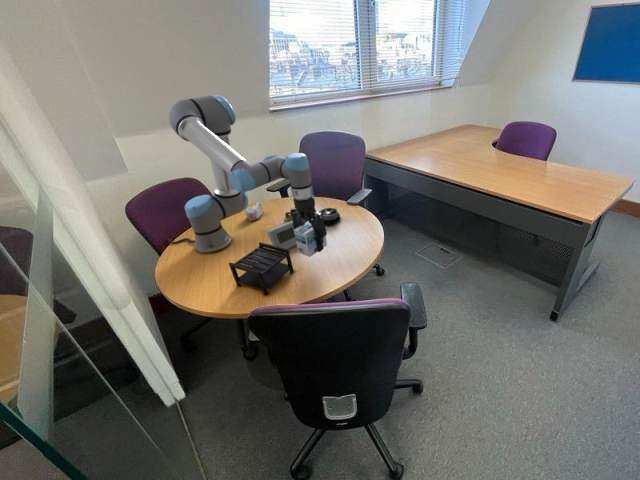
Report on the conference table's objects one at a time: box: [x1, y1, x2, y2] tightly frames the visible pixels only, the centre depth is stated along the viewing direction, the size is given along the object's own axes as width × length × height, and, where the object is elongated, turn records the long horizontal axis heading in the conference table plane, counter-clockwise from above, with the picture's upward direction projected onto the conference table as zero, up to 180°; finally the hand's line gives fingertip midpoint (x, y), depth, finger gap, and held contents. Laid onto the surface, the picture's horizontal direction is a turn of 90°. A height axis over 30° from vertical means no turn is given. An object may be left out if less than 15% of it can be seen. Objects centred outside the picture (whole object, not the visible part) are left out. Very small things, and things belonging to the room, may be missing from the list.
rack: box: [228, 241, 295, 297], centre depth 121 cm, size 15×16×11 cm
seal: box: [284, 211, 308, 223], centre depth 166 cm, size 9×5×15 cm
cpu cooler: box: [317, 207, 341, 227], centre depth 162 cm, size 10×6×10 cm
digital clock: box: [267, 221, 297, 252], centre depth 142 cm, size 16×9×11 cm, turn 123°
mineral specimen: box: [244, 202, 264, 222], centre depth 170 cm, size 13×7×6 cm, turn 175°
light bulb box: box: [294, 219, 328, 258], centre depth 124 cm, size 11×7×11 cm, turn 148°
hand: (313, 248), depth 126 cm, fingers closed on light bulb box, 7 cm apart
